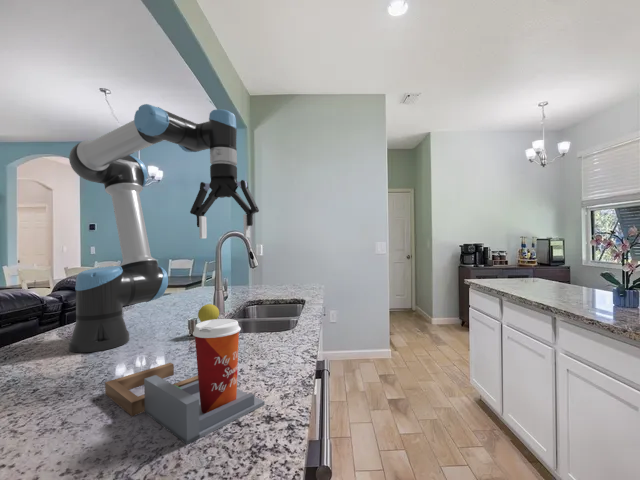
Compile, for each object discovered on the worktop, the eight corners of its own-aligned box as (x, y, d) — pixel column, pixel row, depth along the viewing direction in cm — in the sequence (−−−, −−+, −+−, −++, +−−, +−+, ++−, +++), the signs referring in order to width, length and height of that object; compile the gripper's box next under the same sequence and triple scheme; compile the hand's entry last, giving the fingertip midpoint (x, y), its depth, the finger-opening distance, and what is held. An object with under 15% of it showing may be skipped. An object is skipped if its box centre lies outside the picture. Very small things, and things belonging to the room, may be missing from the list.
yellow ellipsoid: (207, 338, 102) (206, 307, 102) (193, 335, 105) (193, 305, 105) (223, 333, 107) (223, 303, 108) (210, 330, 111) (210, 301, 111)
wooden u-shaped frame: (131, 416, 56) (131, 402, 56) (105, 394, 64) (105, 382, 64) (201, 389, 66) (201, 377, 66) (170, 372, 75) (170, 362, 75)
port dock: (187, 444, 48) (186, 404, 48) (144, 412, 57) (144, 378, 57) (264, 404, 59) (264, 372, 59) (218, 383, 69) (218, 355, 69)
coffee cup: (226, 422, 52) (224, 330, 52) (183, 416, 54) (182, 327, 55) (251, 398, 60) (249, 318, 60) (213, 393, 63) (211, 316, 63)
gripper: (176, 164, 92) (177, 238, 91) (259, 159, 87) (261, 236, 87) (191, 170, 99) (192, 238, 99) (268, 165, 95) (269, 237, 95)
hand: (224, 238), depth 93 cm, fingers open, 13 cm apart
